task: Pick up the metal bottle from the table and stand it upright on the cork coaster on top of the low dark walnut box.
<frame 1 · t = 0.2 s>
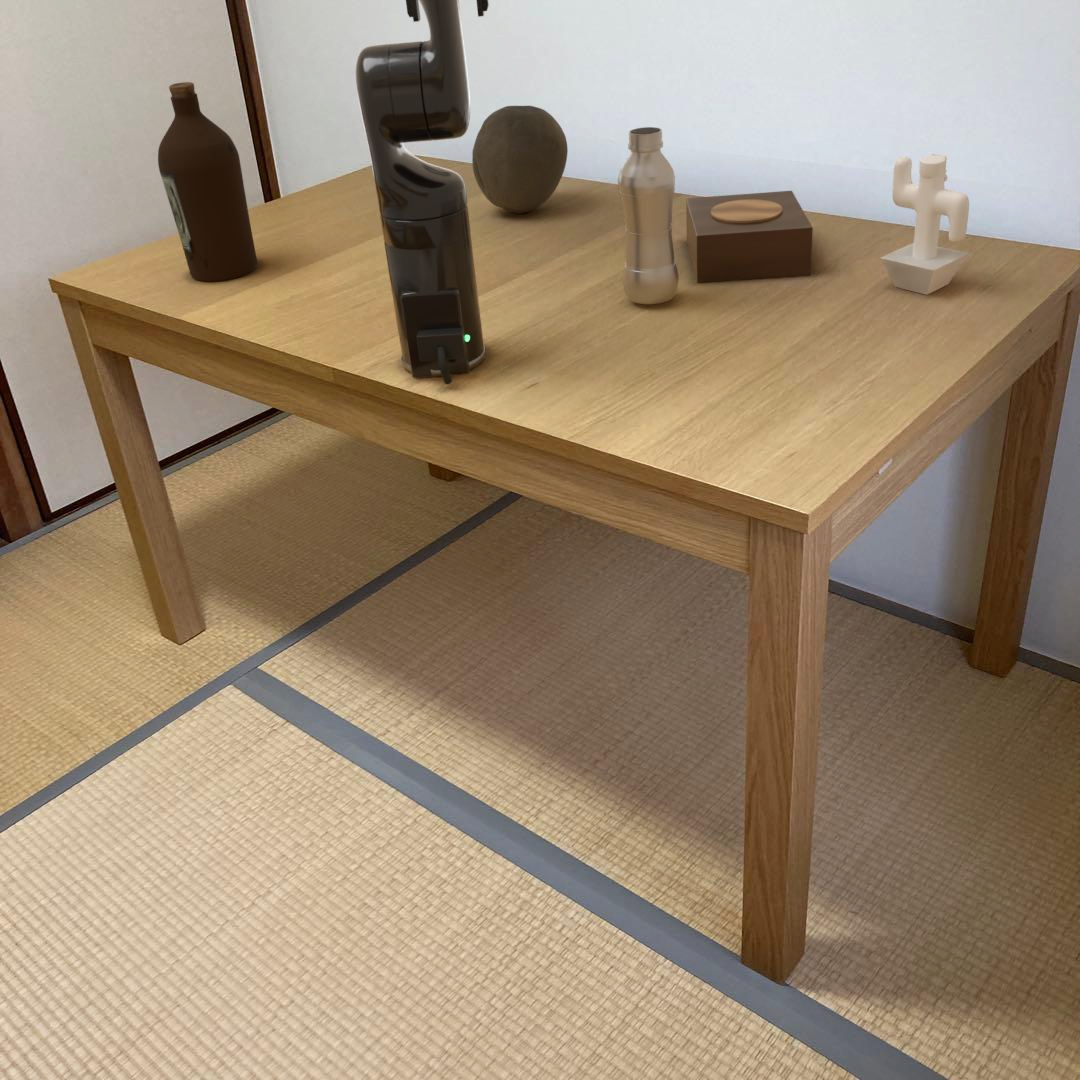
hand: (449, 18, 152), 29 cm above the table, tool pointing down, fingers open, 8 cm apart
metal bottle: (651, 302, 140), on the table
walnut box: (745, 257, 150), on the table
cantaloupe: (524, 210, 177), on the table
olive oil: (224, 271, 164), on the table
figurine: (921, 287, 137), on the table
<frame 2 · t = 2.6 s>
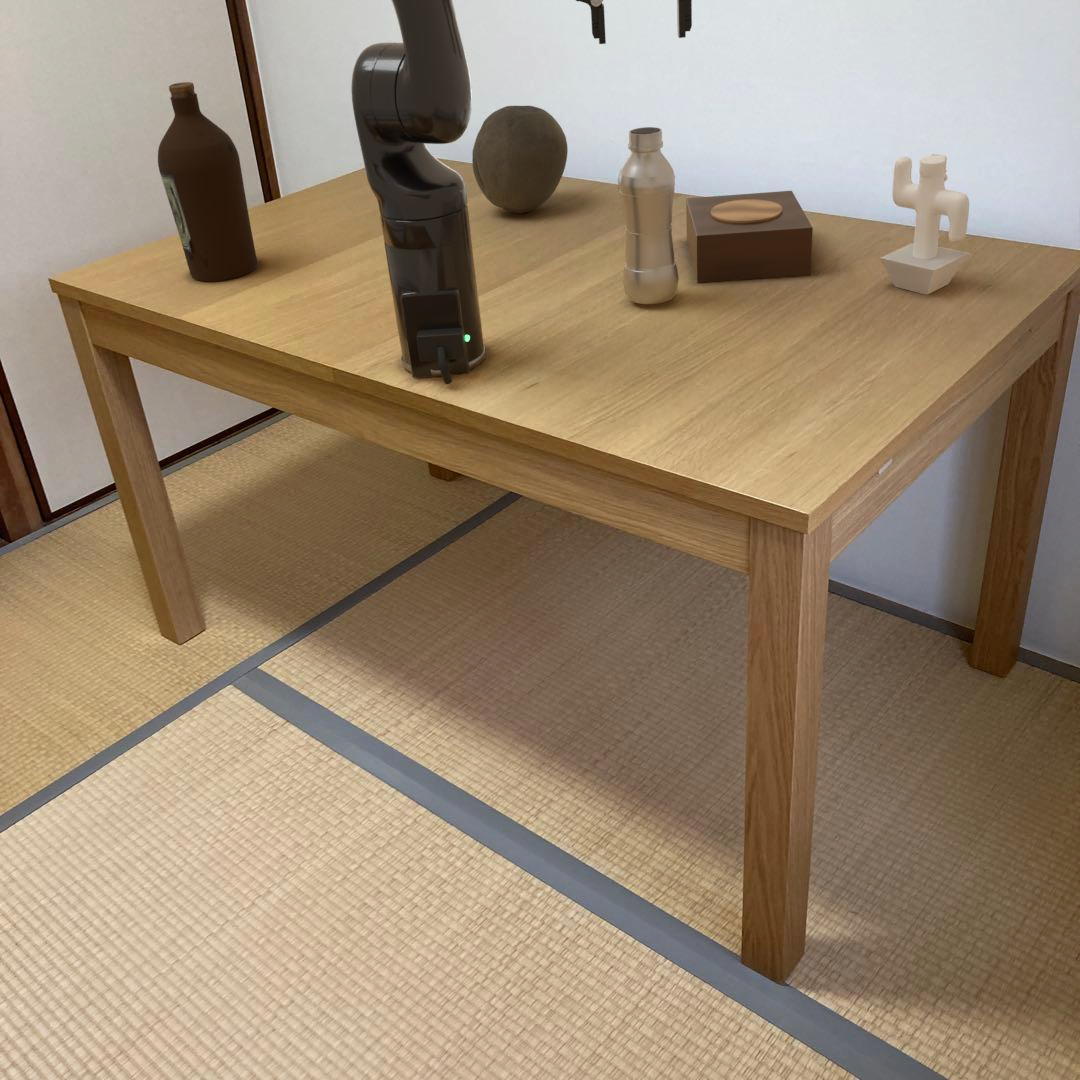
hand: (642, 39, 125), 30 cm above the table, tool pointing down, fingers open, 8 cm apart
nothing on the table moved.
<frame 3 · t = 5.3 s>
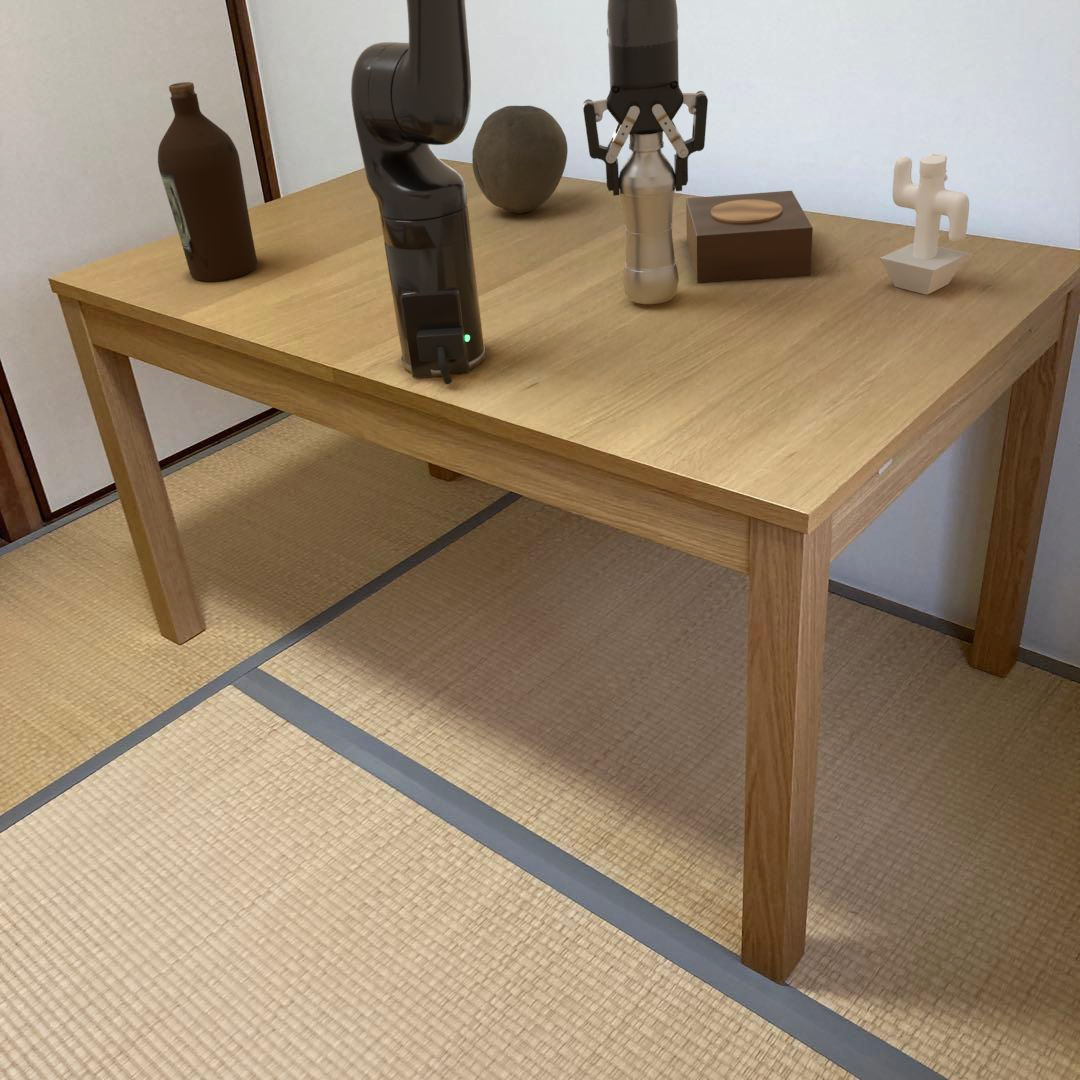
hand: (647, 191, 133), 13 cm above the table, tool pointing down, fingers closed on metal bottle, 6 cm apart
metal bottle: (651, 302, 140), on the table, touching gripper
everything else where it was.
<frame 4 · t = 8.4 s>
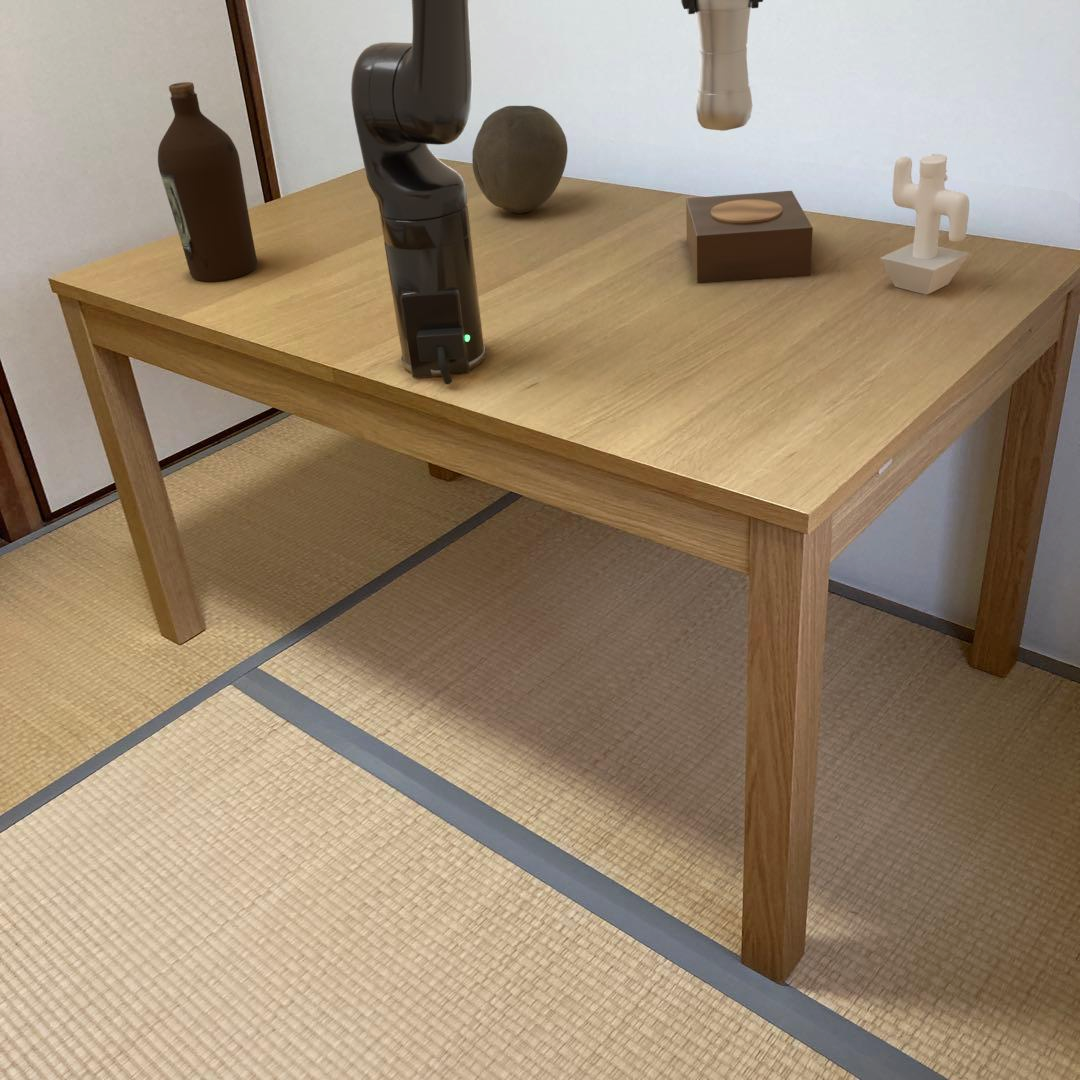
hand: (722, 9, 132), 30 cm above the table, tool pointing down, fingers closed on metal bottle, 6 cm apart
metal bottle: (723, 130, 139), point 17 cm above the table, touching gripper
everything else where it was.
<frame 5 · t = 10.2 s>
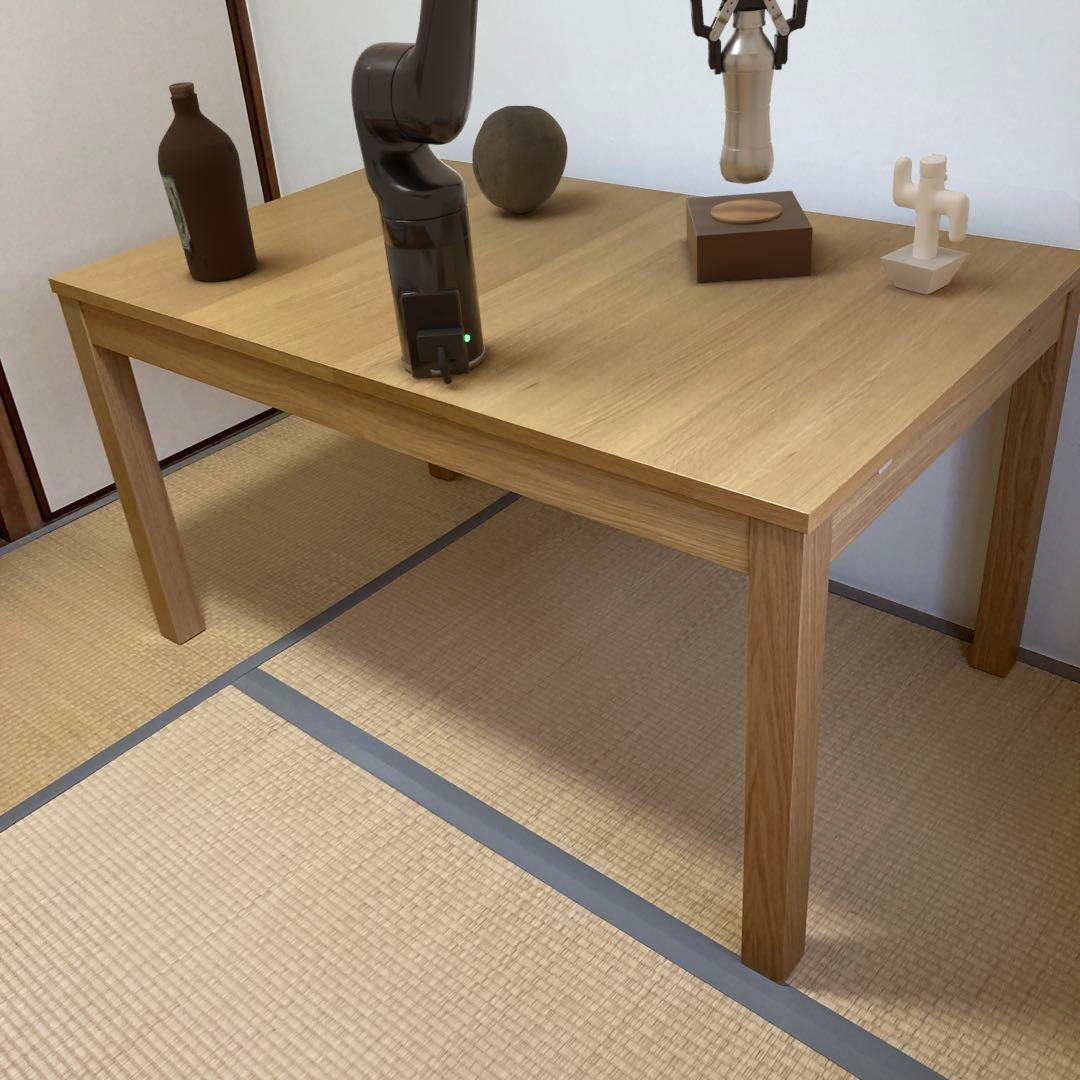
hand: (747, 70, 138), 23 cm above the table, tool pointing down, fingers closed on metal bottle, 6 cm apart
metal bottle: (745, 183, 145), point 10 cm above the table, touching gripper
everything else where it was.
when the fingers open (20 cm above the table, at t = 11.8 s): metal bottle stays where it is, resting on walnut box.
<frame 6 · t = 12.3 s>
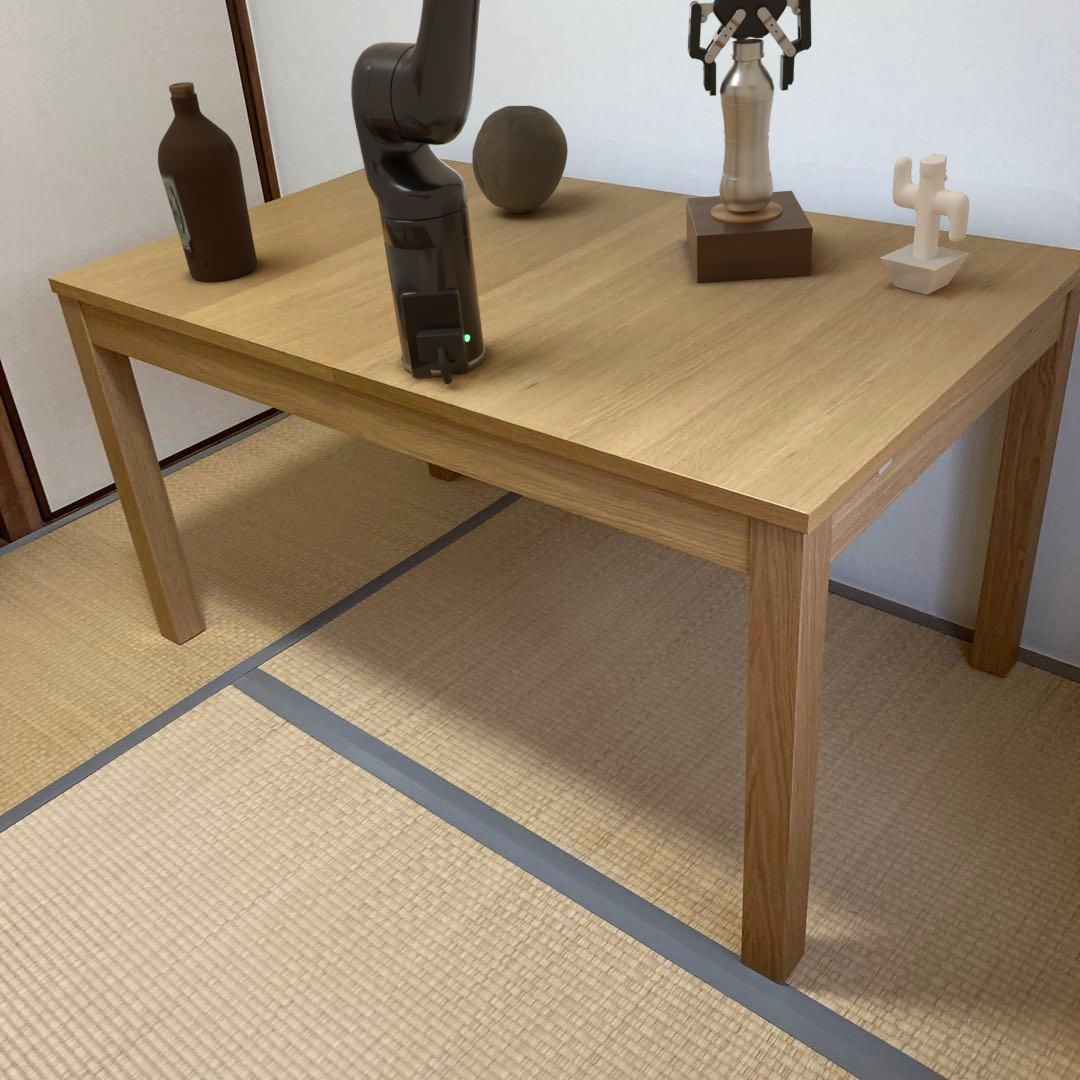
hand: (748, 91, 139), 21 cm above the table, tool pointing down, fingers open, 8 cm apart
metal bottle: (745, 211, 147), point 6 cm above the table, touching walnut box
everything else where it was.
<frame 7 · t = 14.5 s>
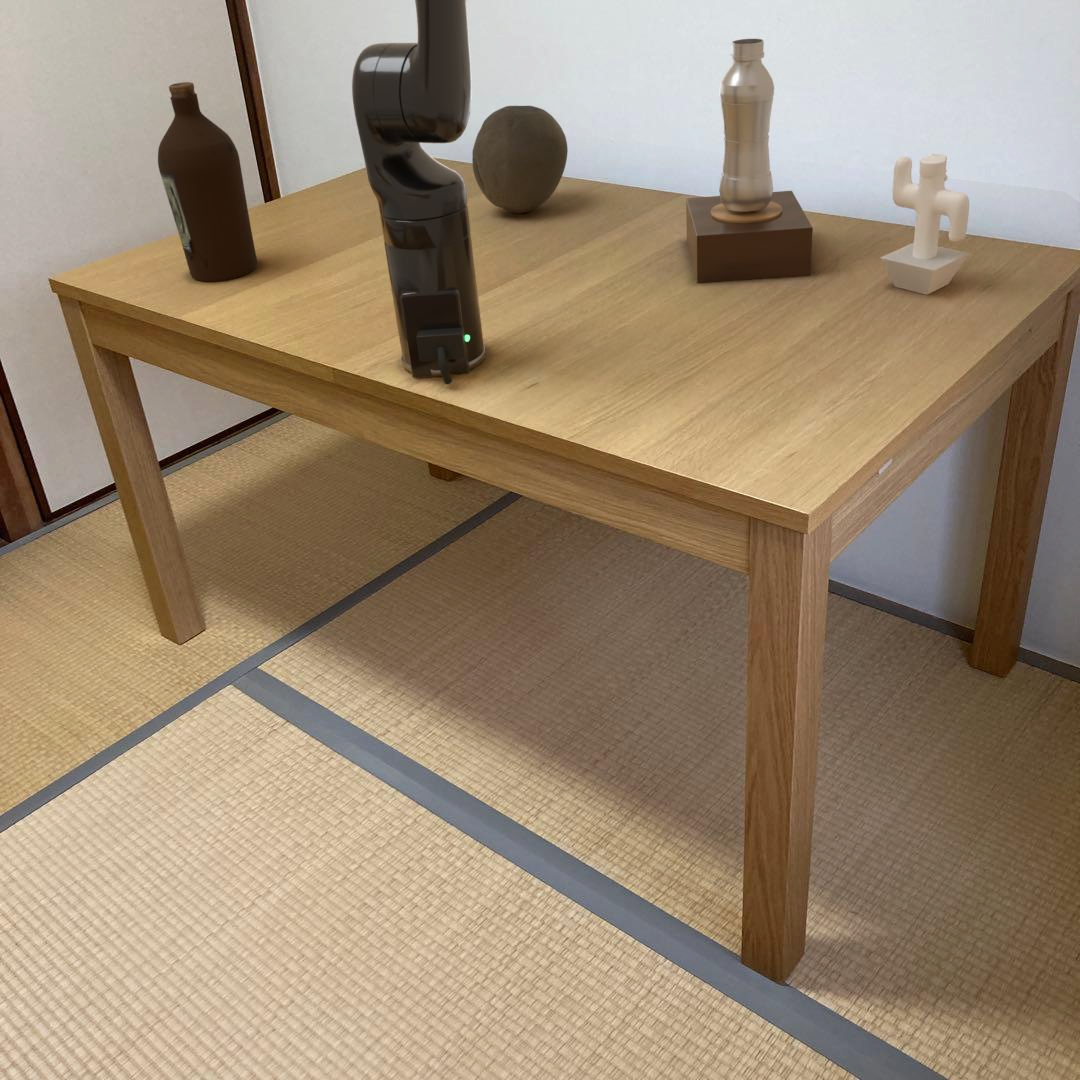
nothing on the table moved.
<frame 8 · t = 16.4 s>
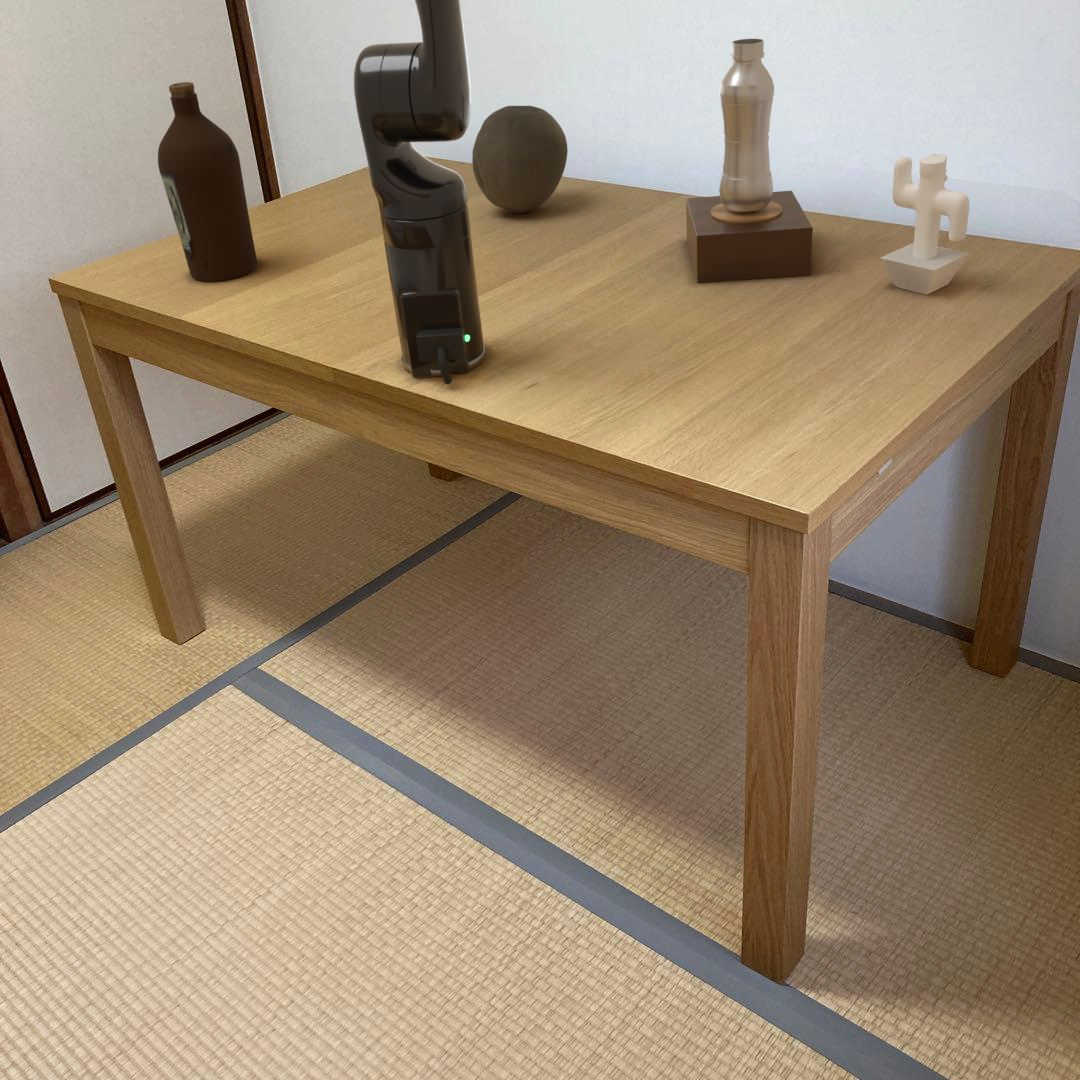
nothing on the table moved.
at the end: metal bottle inside the target area on the walnut box (0.1 cm from its centre), point 6.1 cm above the walnut box's base; metal bottle tilted 0°; the gripper is holding nothing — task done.
